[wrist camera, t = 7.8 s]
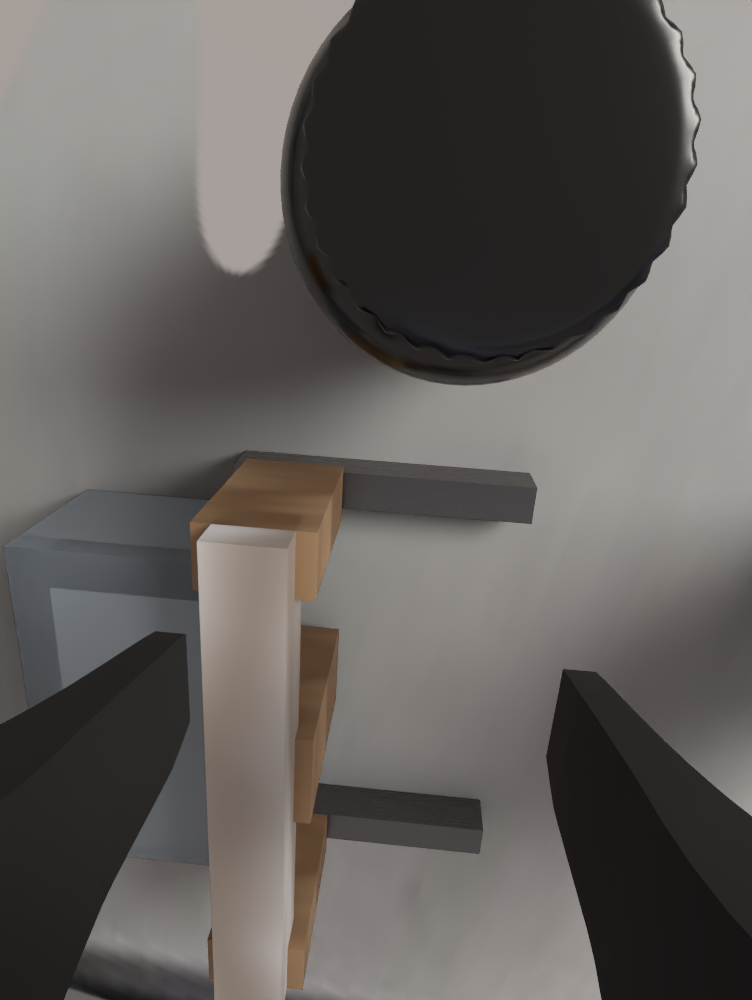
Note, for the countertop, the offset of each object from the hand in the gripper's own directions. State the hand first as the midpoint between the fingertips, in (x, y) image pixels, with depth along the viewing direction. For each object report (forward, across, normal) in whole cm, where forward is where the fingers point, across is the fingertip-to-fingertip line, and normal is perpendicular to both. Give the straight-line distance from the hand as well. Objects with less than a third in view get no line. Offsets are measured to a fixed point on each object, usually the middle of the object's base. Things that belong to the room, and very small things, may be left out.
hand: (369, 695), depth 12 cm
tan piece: (+10, +3, +6) cm, 12 cm away
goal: (+10, +7, +6) cm, 14 cm away
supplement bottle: (+11, -1, -9) cm, 14 cm away
